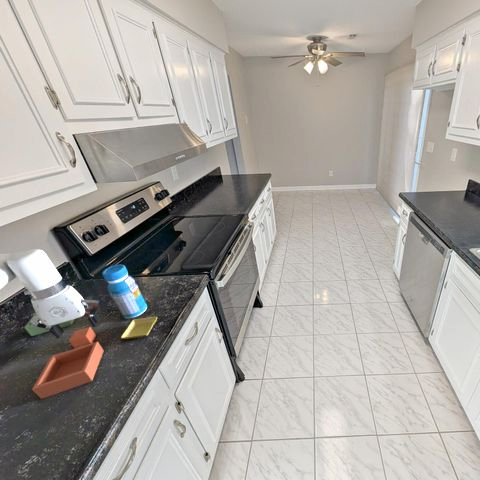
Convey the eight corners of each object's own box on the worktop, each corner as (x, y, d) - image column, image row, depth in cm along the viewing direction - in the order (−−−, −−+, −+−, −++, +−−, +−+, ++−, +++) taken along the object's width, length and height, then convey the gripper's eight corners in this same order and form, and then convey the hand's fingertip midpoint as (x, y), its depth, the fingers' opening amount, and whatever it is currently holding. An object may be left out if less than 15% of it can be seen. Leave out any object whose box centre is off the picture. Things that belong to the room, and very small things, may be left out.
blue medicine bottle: (127, 322, 94) (102, 279, 85) (119, 313, 98) (95, 271, 89) (151, 309, 100) (131, 267, 90) (143, 301, 104) (122, 260, 95)
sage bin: (31, 336, 91) (24, 327, 88) (47, 315, 100) (40, 307, 98) (71, 325, 95) (65, 316, 92) (82, 306, 104) (77, 297, 102)
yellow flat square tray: (159, 320, 94) (157, 315, 93) (149, 338, 86) (146, 334, 85) (135, 323, 93) (132, 319, 92) (122, 342, 86) (119, 338, 85)
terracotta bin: (41, 399, 69) (31, 389, 67) (59, 365, 79) (51, 355, 77) (92, 381, 73) (84, 371, 71) (104, 351, 83) (97, 341, 81)
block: (75, 350, 84) (68, 340, 82) (80, 340, 88) (74, 331, 85) (92, 345, 85) (85, 335, 83) (96, 335, 89) (90, 326, 87)
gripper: (3, 306, 70) (40, 348, 78) (79, 286, 76) (106, 327, 84) (18, 291, 76) (51, 331, 84) (88, 273, 82) (112, 313, 90)
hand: (78, 329), depth 84 cm, fingers open, 9 cm apart
